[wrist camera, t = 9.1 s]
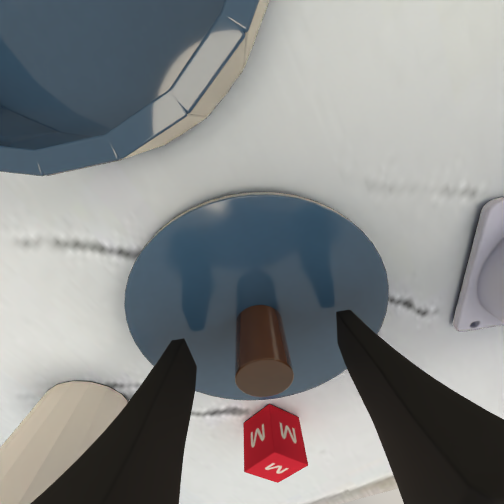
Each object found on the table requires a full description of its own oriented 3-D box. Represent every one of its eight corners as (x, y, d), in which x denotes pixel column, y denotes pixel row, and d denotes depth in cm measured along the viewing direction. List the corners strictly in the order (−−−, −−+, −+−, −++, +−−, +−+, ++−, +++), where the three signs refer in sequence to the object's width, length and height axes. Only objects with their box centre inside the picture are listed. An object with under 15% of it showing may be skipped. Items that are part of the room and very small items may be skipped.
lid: (385, 159, 10) (470, 181, 7) (373, 366, 17) (413, 439, 13) (83, 220, 11) (2, 273, 7) (180, 398, 17) (163, 476, 13)
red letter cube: (243, 423, 19) (244, 472, 16) (269, 403, 18) (274, 452, 15) (272, 435, 20) (277, 483, 17) (298, 417, 19) (308, 465, 16)
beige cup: (9, 395, 16) (-132, 564, 10) (93, 361, 15) (-7, 526, 9) (85, 443, 19) (12, 595, 13) (160, 417, 18) (119, 570, 12)
